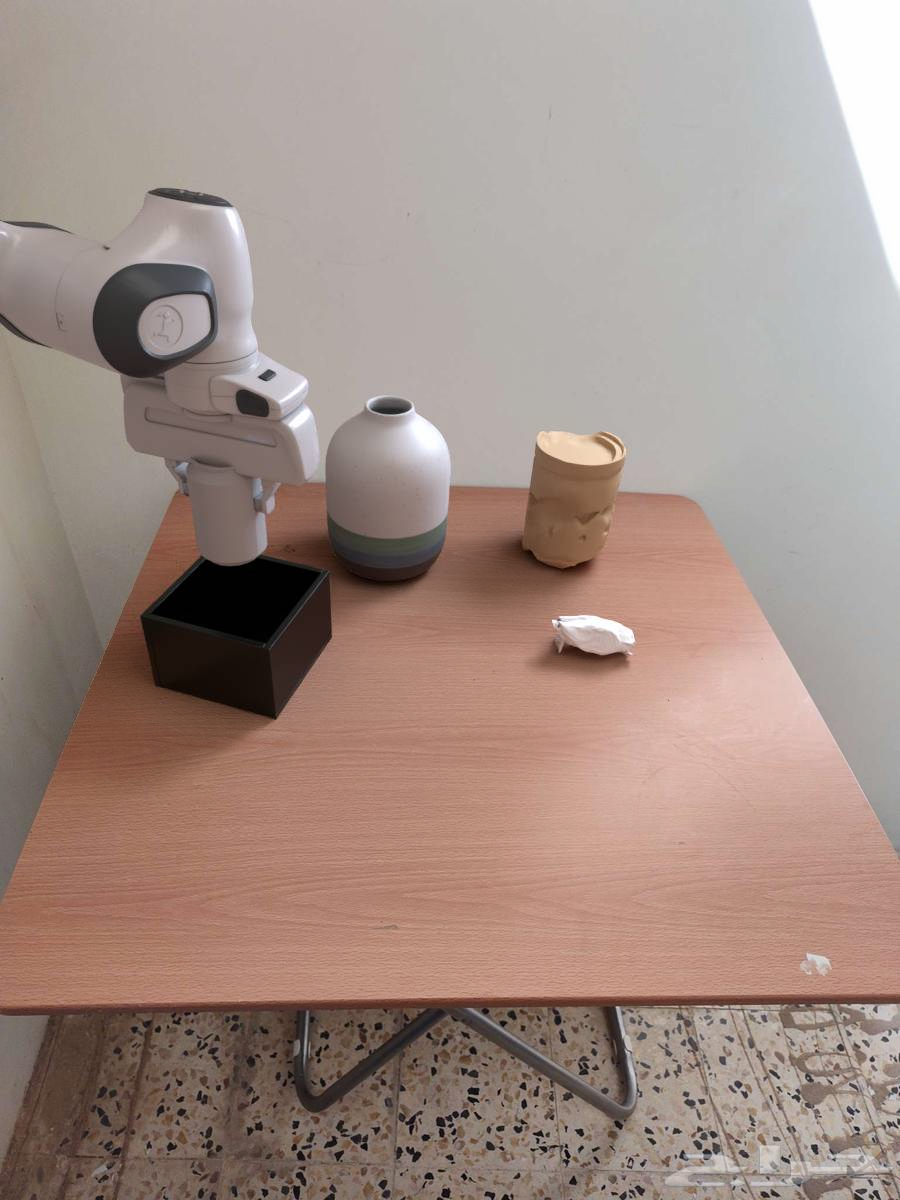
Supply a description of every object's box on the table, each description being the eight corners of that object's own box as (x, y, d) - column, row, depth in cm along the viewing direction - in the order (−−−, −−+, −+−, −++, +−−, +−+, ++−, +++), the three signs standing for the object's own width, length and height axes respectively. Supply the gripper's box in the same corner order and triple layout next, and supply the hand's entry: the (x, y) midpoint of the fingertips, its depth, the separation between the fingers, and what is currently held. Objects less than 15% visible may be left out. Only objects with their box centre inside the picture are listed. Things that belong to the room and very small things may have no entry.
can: (231, 525, 93) (220, 429, 85) (282, 546, 90) (274, 449, 83) (183, 554, 87) (167, 455, 80) (235, 578, 85) (223, 477, 77)
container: (512, 531, 126) (526, 425, 115) (588, 527, 128) (608, 423, 117) (534, 578, 116) (551, 467, 105) (615, 572, 119) (640, 463, 108)
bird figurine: (563, 674, 102) (640, 656, 102) (556, 628, 99) (635, 610, 99) (555, 654, 106) (629, 637, 106) (548, 610, 103) (623, 593, 103)
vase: (443, 596, 111) (455, 438, 97) (321, 590, 111) (314, 429, 96) (444, 530, 125) (454, 383, 110) (335, 525, 124) (331, 375, 110)
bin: (155, 685, 94) (139, 615, 88) (223, 609, 106) (213, 543, 100) (276, 719, 91) (269, 649, 85) (332, 637, 103) (329, 570, 97)
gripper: (97, 369, 76) (124, 496, 84) (294, 407, 72) (302, 537, 80) (137, 347, 81) (158, 470, 89) (323, 382, 77) (327, 507, 85)
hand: (227, 502), depth 85 cm, fingers closed on can, 7 cm apart
